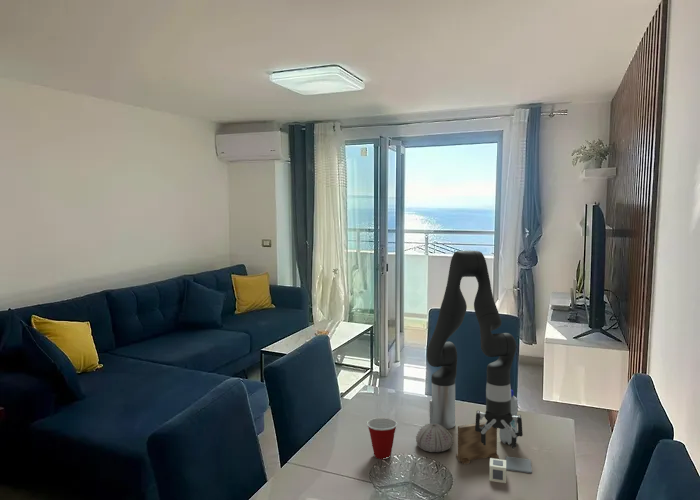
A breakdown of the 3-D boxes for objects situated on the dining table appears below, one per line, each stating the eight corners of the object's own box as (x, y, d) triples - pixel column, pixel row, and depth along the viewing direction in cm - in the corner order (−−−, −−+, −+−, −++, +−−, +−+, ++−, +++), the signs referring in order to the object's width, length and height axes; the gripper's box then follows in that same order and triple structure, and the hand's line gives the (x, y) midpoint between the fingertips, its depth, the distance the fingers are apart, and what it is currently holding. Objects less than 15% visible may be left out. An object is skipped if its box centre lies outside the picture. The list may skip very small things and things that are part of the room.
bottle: (519, 447, 172) (519, 393, 170) (499, 445, 173) (500, 392, 171) (516, 438, 178) (517, 386, 176) (497, 436, 179) (498, 385, 178)
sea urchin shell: (409, 449, 172) (409, 427, 171) (425, 434, 183) (425, 414, 182) (443, 459, 164) (443, 437, 164) (458, 443, 176) (458, 422, 175)
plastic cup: (398, 447, 173) (397, 415, 172) (397, 463, 162) (397, 429, 161) (368, 446, 174) (367, 415, 173) (365, 462, 163) (365, 428, 162)
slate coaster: (505, 469, 157) (505, 468, 157) (505, 457, 165) (505, 456, 164) (531, 473, 154) (531, 471, 154) (530, 460, 162) (530, 459, 162)
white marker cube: (489, 472, 156) (490, 457, 155) (506, 474, 154) (506, 459, 154) (489, 481, 151) (489, 465, 150) (506, 483, 149) (506, 468, 149)
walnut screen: (462, 464, 161) (462, 430, 160) (455, 457, 166) (455, 423, 165) (499, 458, 164) (499, 424, 163) (491, 451, 169) (491, 418, 168)
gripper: (474, 398, 149) (474, 448, 150) (522, 402, 145) (522, 454, 146) (475, 389, 156) (476, 438, 157) (522, 393, 152) (522, 443, 153)
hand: (498, 445), depth 151 cm, fingers open, 8 cm apart
